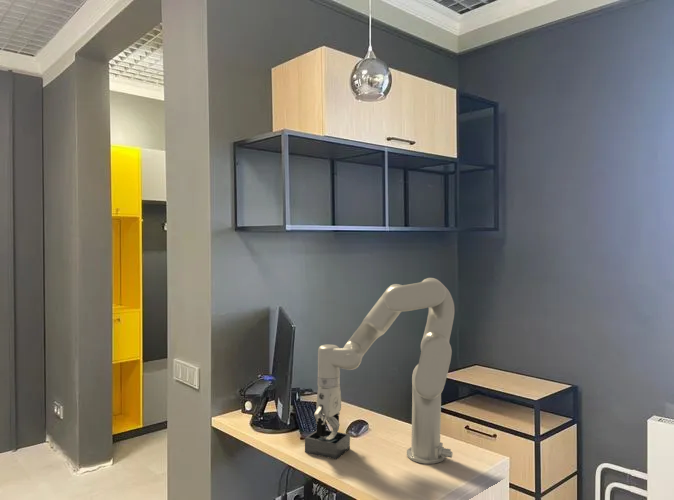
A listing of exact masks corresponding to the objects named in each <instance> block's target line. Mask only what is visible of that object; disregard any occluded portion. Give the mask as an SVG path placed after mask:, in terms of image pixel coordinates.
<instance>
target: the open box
mask: <svg viewBox="0 0 674 500" xmlns="http://www.w3.org/2000/svg"><path fill="white" fill-rule="evenodd" d="M331 432H332V430H330V429H326V436H327V435H328V436H329V435H330V434H331ZM335 433H336V432H335ZM318 438H321V437H320V436H318V435H317V429H316V430H315V431H313V432H311V433H309V434H308V435H307V436H306V437H304V453H307V454H311V455H315V456H319V457H324V458H328V459H333V460H338V459H339V458H340V457H341V456H343V455H345V453H346V452H347V451H349V450H350V449H351V434H348V433H345V432H340V431H338V432H337V434H336V436H335V437H334V438H335V439H337V440H338V442H337V443H332V442H327V441H323V440H318Z"/></svg>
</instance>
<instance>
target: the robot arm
mask: <svg viewBox="0 0 674 500" xmlns="http://www.w3.org/2000/svg"><path fill="white" fill-rule="evenodd" d="M427 308H428V313H427V318H426V324H425V327H424V332H423V336H422V339H421V342H420V351H421V352H420V355H419V360H418V363H417V364H416V365H415V367H414V369H413V371H412V375H411V376H412V377H411V383H412V384H411V385H412V387H411V393H412V396H411V398H412V399H411V400H412V402H411V405H412V406H411V447H409V448H407V449H406V456H407V457H408V459H409V460H411V461H413V462H416V463H418V464H419V463H420V464H425V465H426V464H427V465H432V464H434V465H435V464H439V463H441V462H443V461H444V460H445V458H446V457H447V458H450V459H452V458H453V451H452V449H451V448H446V447H444V445H443V442H441V423H442V422H441V421H442V420H441V419H442V418H441V416H442V413H441V412H442V393H443V391H444V388H445V385H446V381H447V378H448V373H449V369H450V366H451V365H450V364H451V360H452V353H453V351H452V346H451V344H450V338H451V334H452V329H453V324H454V319H455V301H454V299H453V296H452V294H451V292H450V291H449V289H448V288H447V287H446V286H445V285H444V283H442V282H441V281H440V280H439V279H437V278H434V277H427V278H424V279H423V280H421V281H420V282H415V283H409V284H403V285H402V284H399V283H393V284H391V285H390V286H388V287H387V288H386V290H385V291H384V292H383V293H382V295H381V296H380V297H379V299H378V300H377V301H376V302H375V304H374V305H373V307H372V308H371V309H370V311H369V312H367V314H366V316H365V317H364V318H363V320H362V321H361V323H360V325H359V326H358V327H357V329H356V330H355V331H354V332H353V334H352V336H350V338H349V339H348V341H347V342H346V343H345V344H344V346H343V347H339V346H338V345H337V344H332V343H331V344H327V343H326V344H322V345H320V346H319V347H318V349H317V392H316V393H317V394H316V406H315V407H316V410H315V412H314V414H313V416H314V421H315V424H316V430H317V435H318V436H323V437H325V436H326V430H327V427H326V426H327V425H326V422H327V420H326V418H331V417H332V416H333V417H335V418H336V419H337V420H338V422H339V423H340V413H341V409H342V392H341V385H340V379H341V378H340V377H341V376H340V375H341V369H342V370H347V371H351V370H356V369H358V368H359V366H360V365H361V363H362V360H363V358H364V355H365V354H366V353H367V352H368V351H369V349H370V348H371V346H373V344H374V343H375V341H376V340H378V339H379V338H380V337H382V336H383V335H385V333H386V332H387V331H388V330H389V329H390V328H391V326H392V325H393V323H394V322H395V321H396V319H397V318H398V317H399V315H400V314H401V313H402V312H410V311H416V310H421V309H427ZM321 418H323V420H322V419H321Z"/></svg>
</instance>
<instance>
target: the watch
mask: <svg viewBox="0 0 674 500" xmlns="http://www.w3.org/2000/svg"><path fill="white" fill-rule="evenodd" d="M321 419H322V420H323V418H322V417H321ZM326 422H327V423H328V425H329V426H330V427H331V428H332V430H331V431H332V432H331V434H330V435H329V436H328V435H327V436H325V437H323V436H320V437H321V438H318V440H323V441H327V442H332V443H337V442H338V440H337V439H335V438H334V437H335V436H336V434H337V432H339V429H340V421H339V422H338V420H337V419H336V418H335V417H333V416H332V417H331V418H326ZM335 432H336V433H335Z"/></svg>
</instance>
